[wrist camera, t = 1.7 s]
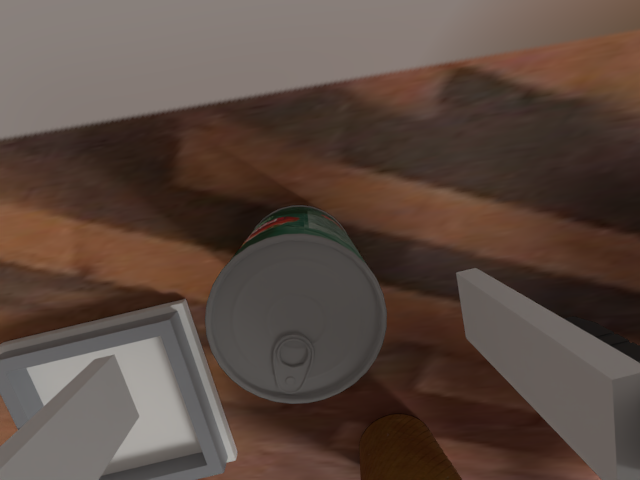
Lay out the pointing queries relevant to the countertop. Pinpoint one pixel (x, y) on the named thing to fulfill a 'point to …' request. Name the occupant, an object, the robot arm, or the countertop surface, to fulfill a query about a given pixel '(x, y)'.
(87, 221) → the countertop surface
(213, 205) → the countertop surface
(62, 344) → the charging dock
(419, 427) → the disposable coffee cup
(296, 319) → the canned tomato
